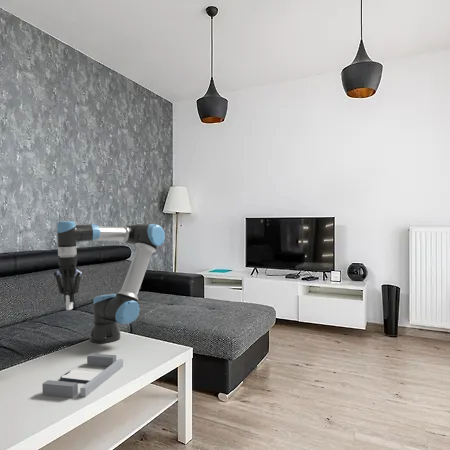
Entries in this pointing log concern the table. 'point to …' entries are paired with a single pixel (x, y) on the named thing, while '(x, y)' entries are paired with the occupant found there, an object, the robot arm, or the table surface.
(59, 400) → the table surface
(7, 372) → the table surface
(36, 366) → the table surface
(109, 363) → the grey u-shaped piece
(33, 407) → the table surface
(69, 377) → the smartphone
